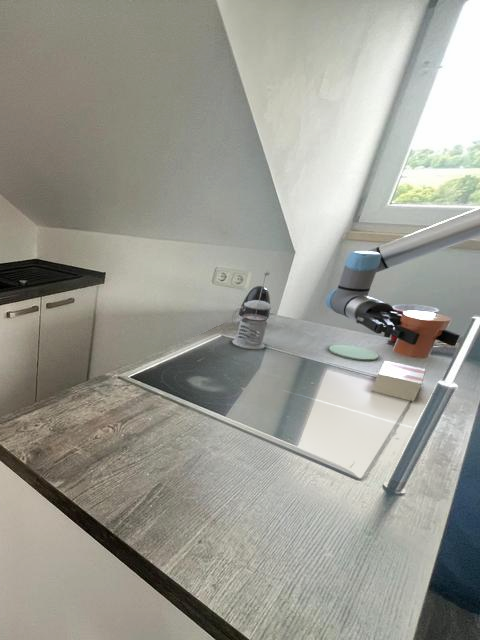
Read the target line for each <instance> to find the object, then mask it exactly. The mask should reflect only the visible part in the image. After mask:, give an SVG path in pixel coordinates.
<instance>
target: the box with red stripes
mask: <svg viewBox="0 0 480 640" xmlns="http://www.w3.org/2000/svg"><path fill="white" fill-rule="evenodd" d="M425 374H426V368H422V367H417V366H412V365H408V364H404V363H398V362H394V361H390V360H384V361H383V363H382V365H381V367H380V369H379V371H378V373H377V376H376V378H375V380H374V383H373V385H372V388H371V390H370V391H372V392H375V393H379V394H383V395H386V396H390V397H393V398H399V399H402V400H406V401H411V402H415V400H416V397H417V395H418V394H419V391H420V390H421V387H422V385H423V382H424V377H425Z"/></svg>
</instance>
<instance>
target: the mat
mask: <svg viewBox="0 0 480 640" xmlns="http://www.w3.org/2000/svg"><path fill="white" fill-rule="evenodd" d="M328 351H329V352H330V353H332V354H334V355H336V356H339V357H343V358H347V359H351V360H355V361H375V360H378V357H379V355H378V354H377V353H376V352H374V351H372V350H370V349H367V348H364V347H361V346H355V345H351V344H349V345H348V344H333V345H330V346H329V347H328Z"/></svg>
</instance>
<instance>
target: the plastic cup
mask: <svg viewBox="0 0 480 640" xmlns="http://www.w3.org/2000/svg"><path fill="white" fill-rule="evenodd" d="M392 307H393V309H394V312H397V313H399V314H401V315H402V313H403V312H405V311H422V312H430V313H436V314H438V312H439V311H440V309H439V308H436V307H433V306H430V305H429V306H428V305H421V304H395V305H392ZM400 325H401V324H400ZM394 328H395V327H394ZM390 340H391V341H392V342H395V343H396V341H397V338H396V337H394V336H392V335H390Z"/></svg>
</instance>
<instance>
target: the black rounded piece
mask: <svg viewBox="0 0 480 640" xmlns="http://www.w3.org/2000/svg"><path fill="white" fill-rule="evenodd" d="M262 286H263V285H256V286H253V288H252V289H251V290H249V292H247V294H246V296H245V298H244V299H243V301H242V303H241V305H240V307H243V306H244V307H243V308H244V309H245V307H246V306H245V305H244V303H246V302H249V301H253V300H259V298H260V300H261V301H265V302H267V303H269V304H270V305H271V295H270V293H269V290H268V288H267V287H265V286H263V289H262ZM261 290H262V293H261ZM260 294H261V297H260ZM240 307H239V308H240ZM243 308H240V309H238V319H239V321H242V319H243V318H244V317H243V315H245V314H256V315H261V316H265V317H267V318H268V319H270V317H271V309H269V310H258V309H252V308H248V307H246V309H245V311H244V310H243ZM256 310H257V313H256ZM268 319H267V320H268ZM267 320H266V322H267ZM247 323H256V324H258V325H261V324H259V323H258V322H256V321H250V322H247Z"/></svg>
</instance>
